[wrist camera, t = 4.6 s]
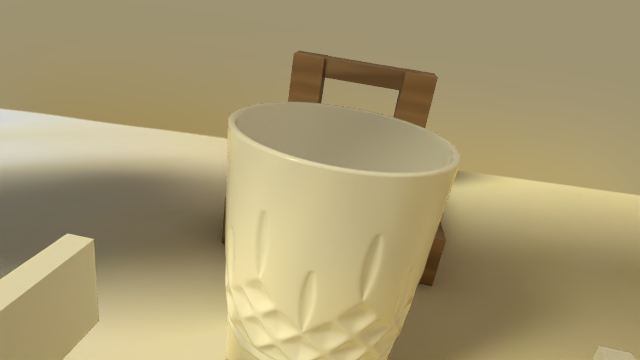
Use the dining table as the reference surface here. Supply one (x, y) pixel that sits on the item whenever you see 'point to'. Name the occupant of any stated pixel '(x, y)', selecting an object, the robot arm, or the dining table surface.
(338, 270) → the white cup
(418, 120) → the brown wooden stand
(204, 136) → the dining table surface
